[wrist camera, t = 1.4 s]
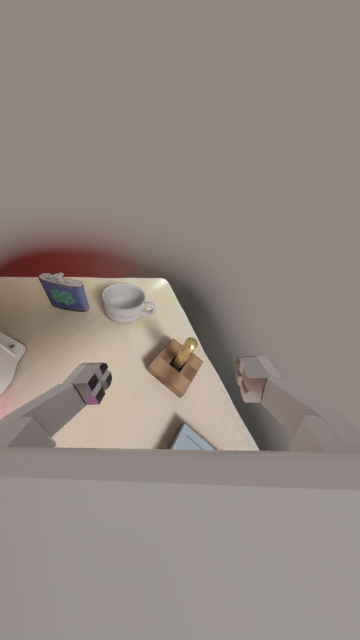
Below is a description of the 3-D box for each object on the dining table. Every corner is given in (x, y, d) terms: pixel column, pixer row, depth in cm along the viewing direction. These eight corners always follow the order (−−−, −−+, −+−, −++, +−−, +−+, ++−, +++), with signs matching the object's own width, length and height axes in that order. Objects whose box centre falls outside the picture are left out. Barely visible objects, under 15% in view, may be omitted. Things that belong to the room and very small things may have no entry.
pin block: (147, 370, 35) (148, 365, 33) (170, 344, 42) (173, 338, 40) (180, 398, 33) (183, 394, 31) (199, 365, 40) (203, 361, 38)
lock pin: (168, 368, 37) (183, 343, 28) (173, 361, 39) (189, 335, 29) (175, 374, 37) (194, 350, 27) (180, 367, 38) (199, 342, 29)
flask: (90, 306, 42) (82, 275, 34) (86, 313, 40) (76, 282, 32) (54, 299, 40) (37, 264, 32) (48, 306, 38) (28, 271, 31)
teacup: (96, 318, 40) (91, 297, 34) (119, 296, 48) (118, 276, 42) (142, 339, 40) (145, 321, 34) (157, 314, 48) (162, 296, 42)
